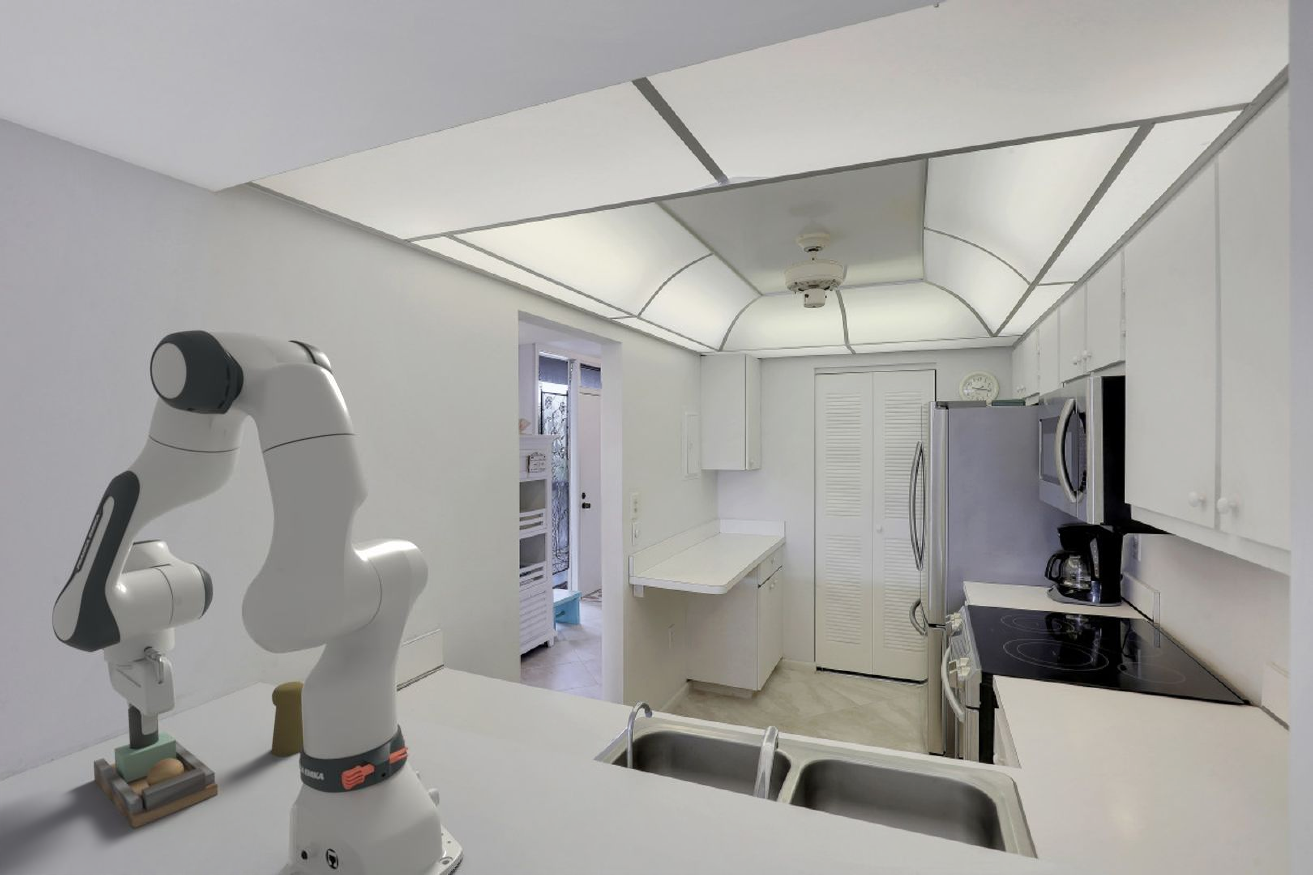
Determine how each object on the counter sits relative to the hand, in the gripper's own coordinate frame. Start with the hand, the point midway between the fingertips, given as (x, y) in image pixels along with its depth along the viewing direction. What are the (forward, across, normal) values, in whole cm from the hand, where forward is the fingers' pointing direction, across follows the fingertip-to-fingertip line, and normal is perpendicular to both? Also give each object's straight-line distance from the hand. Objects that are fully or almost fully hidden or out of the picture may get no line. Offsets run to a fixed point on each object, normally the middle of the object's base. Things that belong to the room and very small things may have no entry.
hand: (144, 728), depth 101 cm
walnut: (+4, -10, 0) cm, 11 cm away
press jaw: (+6, 0, 0) cm, 6 cm away
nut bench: (+8, -4, 0) cm, 9 cm away
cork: (+8, -9, -18) cm, 22 cm away
